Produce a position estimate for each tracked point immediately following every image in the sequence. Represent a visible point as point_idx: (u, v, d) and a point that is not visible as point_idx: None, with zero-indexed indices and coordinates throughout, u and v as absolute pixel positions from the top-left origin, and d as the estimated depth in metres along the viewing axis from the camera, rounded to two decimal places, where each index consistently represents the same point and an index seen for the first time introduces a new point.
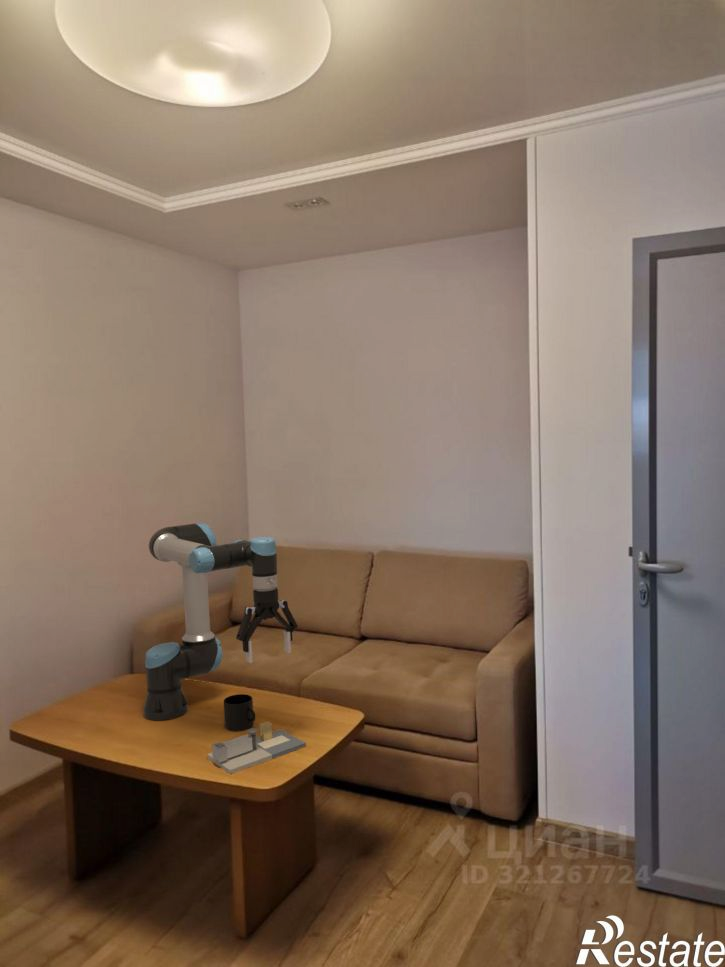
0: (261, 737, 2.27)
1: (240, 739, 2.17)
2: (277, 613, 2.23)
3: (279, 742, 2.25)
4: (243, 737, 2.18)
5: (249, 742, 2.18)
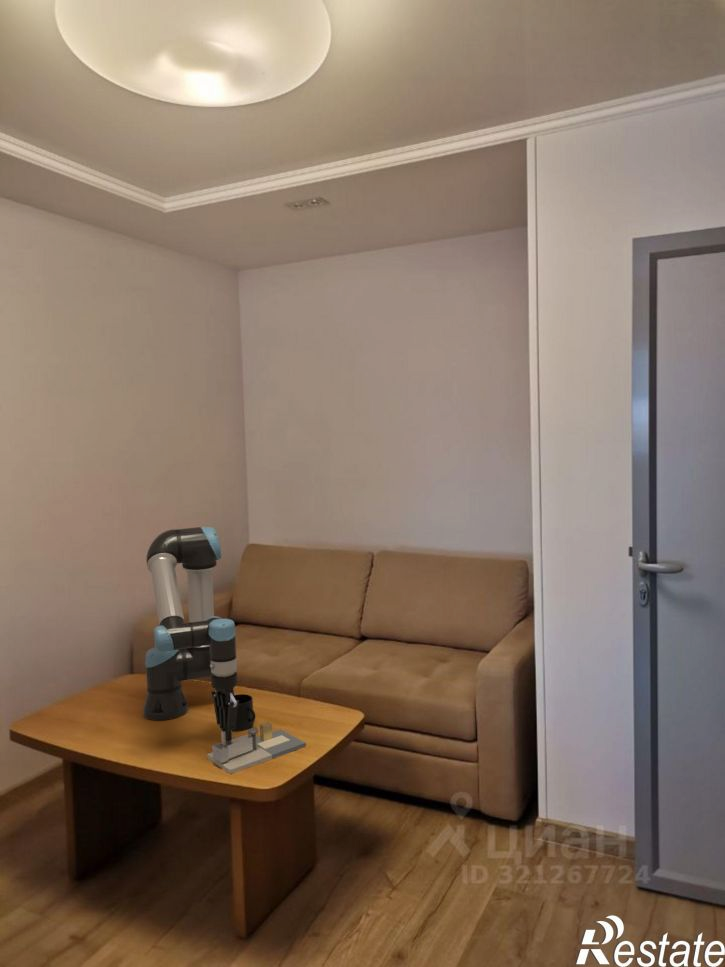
0: (261, 737, 2.27)
1: (240, 739, 2.17)
2: (222, 703, 2.14)
3: (279, 742, 2.25)
4: (244, 737, 2.18)
5: (249, 742, 2.18)
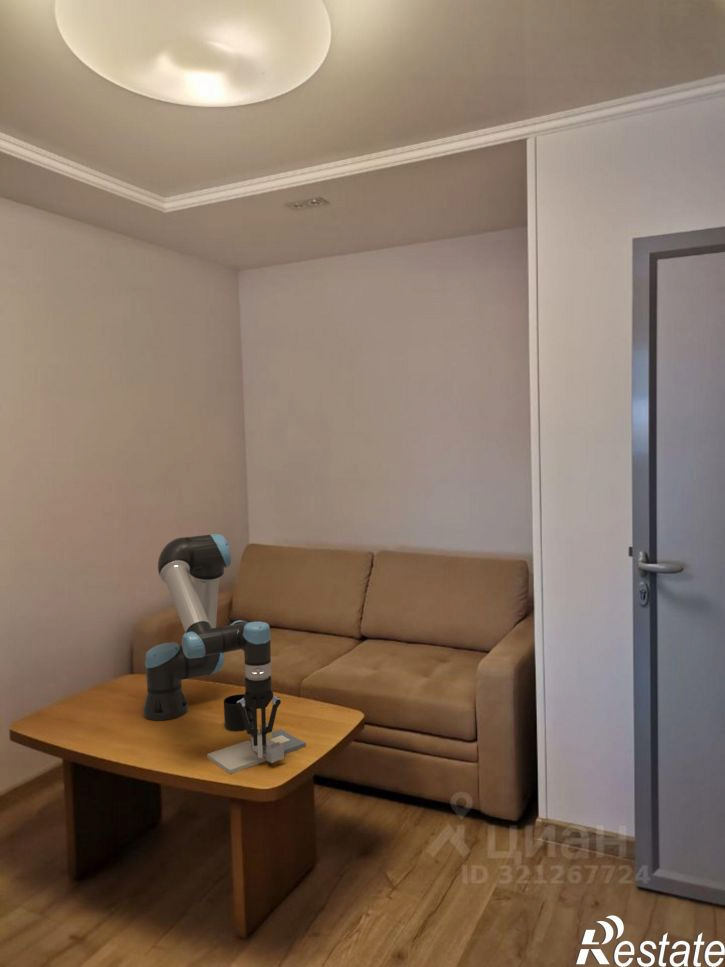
0: None
1: None
2: (263, 707, 2.11)
3: (279, 742, 2.25)
4: None
5: None
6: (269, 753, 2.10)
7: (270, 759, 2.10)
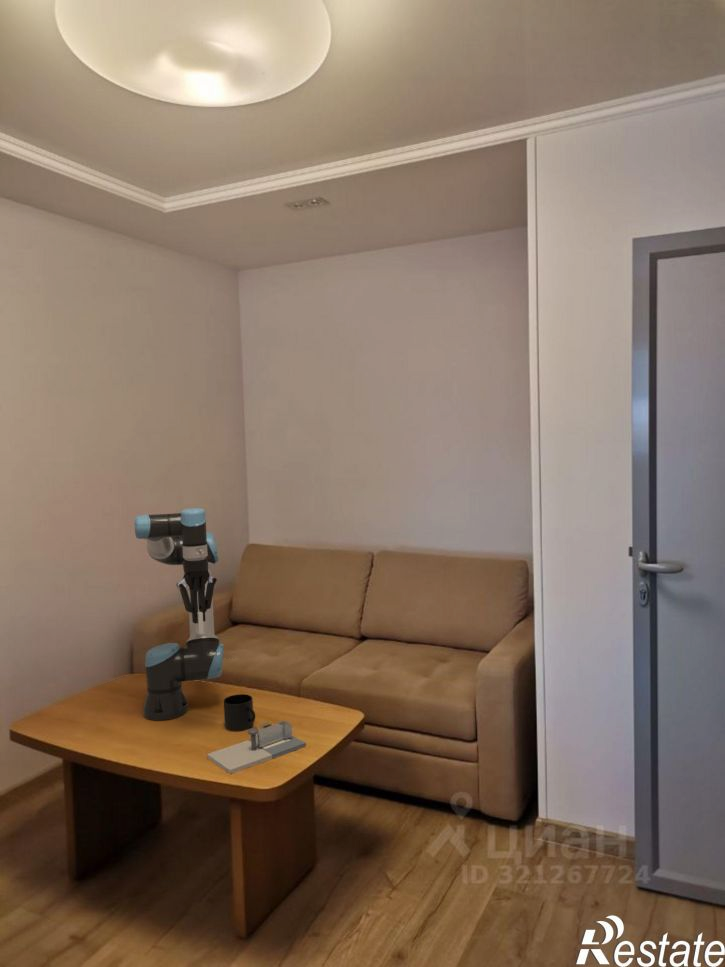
0: None
1: (265, 729, 2.24)
2: (203, 585, 2.28)
3: (279, 742, 2.25)
4: (262, 730, 2.23)
5: None
6: (289, 729, 2.27)
7: (290, 734, 2.27)
